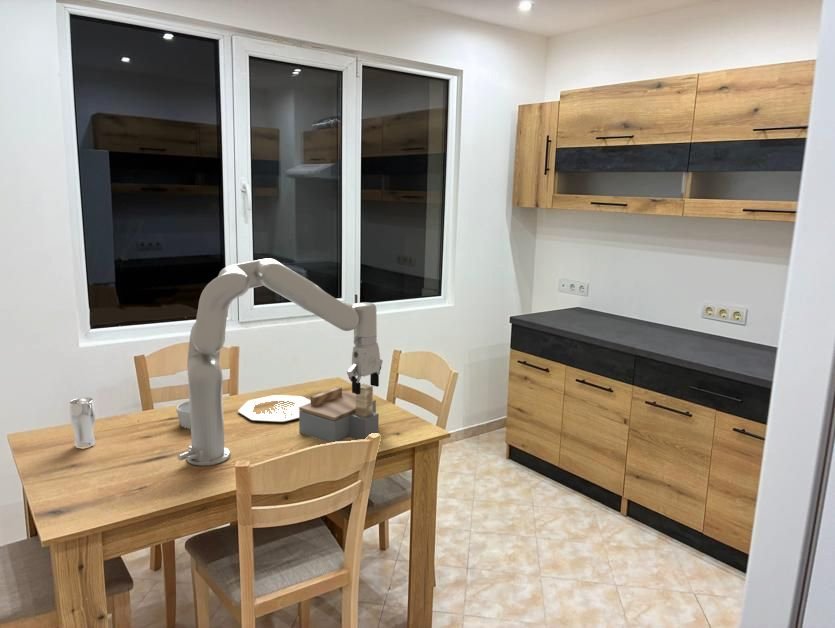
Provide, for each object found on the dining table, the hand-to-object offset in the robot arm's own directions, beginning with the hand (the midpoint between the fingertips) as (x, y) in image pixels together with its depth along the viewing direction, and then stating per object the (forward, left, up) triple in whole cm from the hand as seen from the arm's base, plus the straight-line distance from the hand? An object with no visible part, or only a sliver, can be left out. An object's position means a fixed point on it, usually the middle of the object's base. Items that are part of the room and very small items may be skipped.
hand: (365, 389), depth 204 cm
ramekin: (-27, +54, -17) cm, 63 cm away
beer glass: (-60, +66, -17) cm, 91 cm away
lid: (0, +12, -8) cm, 14 cm away
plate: (0, +42, -17) cm, 45 cm away
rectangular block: (0, 0, -13) cm, 13 cm away
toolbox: (0, +8, -17) cm, 19 cm away
